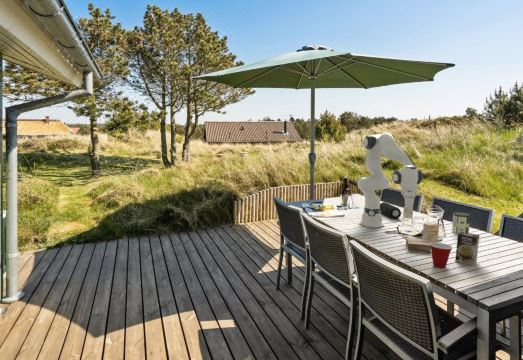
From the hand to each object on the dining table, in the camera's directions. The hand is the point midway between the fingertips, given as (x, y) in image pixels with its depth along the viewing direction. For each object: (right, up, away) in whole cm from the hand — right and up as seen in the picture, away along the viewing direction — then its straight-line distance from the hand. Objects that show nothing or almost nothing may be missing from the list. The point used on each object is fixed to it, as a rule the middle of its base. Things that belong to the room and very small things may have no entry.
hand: (408, 213), depth 186 cm
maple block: (0, -2, 0) cm, 2 cm away
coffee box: (+22, -25, -20) cm, 39 cm away
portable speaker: (+22, -11, +79) cm, 83 cm away
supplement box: (+19, -21, +10) cm, 30 cm away
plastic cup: (+5, -26, -25) cm, 36 cm away
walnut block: (+6, -22, +1) cm, 23 cm away
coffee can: (+52, -17, +30) cm, 63 cm away
